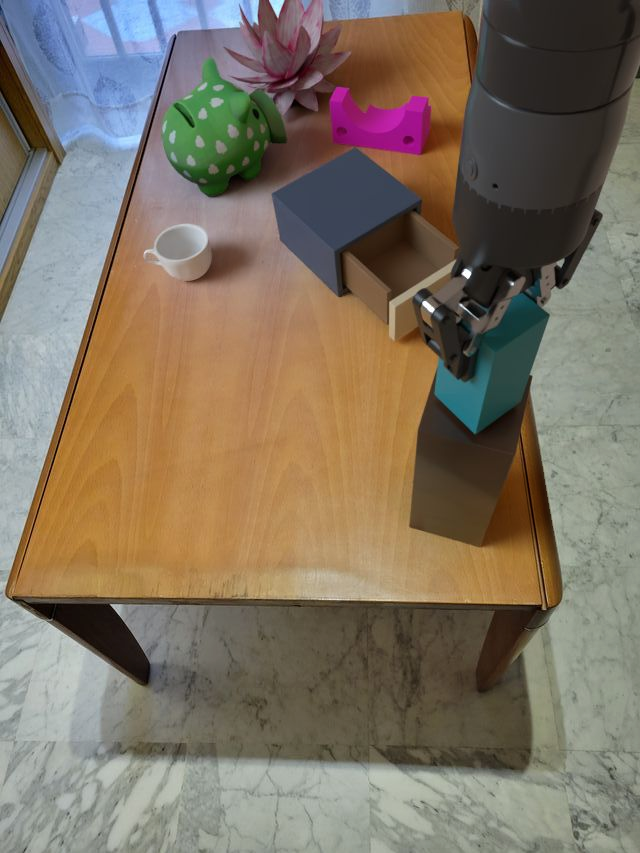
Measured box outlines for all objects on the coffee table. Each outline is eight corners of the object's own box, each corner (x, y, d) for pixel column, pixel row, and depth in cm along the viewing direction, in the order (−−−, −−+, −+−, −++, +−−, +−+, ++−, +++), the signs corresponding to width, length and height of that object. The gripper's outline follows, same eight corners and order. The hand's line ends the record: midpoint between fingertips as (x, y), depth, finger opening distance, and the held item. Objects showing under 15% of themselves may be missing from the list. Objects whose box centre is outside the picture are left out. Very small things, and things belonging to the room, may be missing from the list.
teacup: (218, 248, 96) (209, 220, 92) (215, 286, 92) (206, 259, 88) (153, 254, 97) (142, 227, 92) (148, 292, 93) (136, 265, 88)
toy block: (429, 131, 106) (432, 87, 99) (420, 154, 103) (422, 112, 96) (344, 119, 109) (341, 77, 103) (332, 142, 106) (329, 100, 100)
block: (520, 401, 52) (550, 314, 43) (475, 435, 51) (495, 352, 41) (478, 363, 54) (497, 272, 45) (433, 394, 53) (444, 307, 44)
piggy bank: (297, 172, 103) (285, 84, 91) (198, 219, 100) (171, 133, 87) (257, 129, 110) (240, 41, 97) (163, 171, 107) (132, 85, 94)
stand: (494, 484, 73) (533, 375, 54) (480, 547, 69) (515, 454, 50) (426, 466, 75) (440, 355, 56) (408, 527, 71) (417, 430, 52)
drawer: (494, 309, 85) (502, 272, 79) (415, 362, 81) (418, 328, 75) (408, 237, 93) (409, 199, 87) (333, 283, 89) (329, 246, 84)
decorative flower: (365, 116, 109) (362, 25, 96) (244, 144, 108) (225, 56, 95) (335, 50, 120) (329, -40, 107) (225, 75, 119) (205, -13, 106)
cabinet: (419, 247, 93) (422, 198, 85) (338, 297, 89) (334, 251, 82) (357, 195, 99) (355, 146, 92) (280, 240, 96) (271, 193, 88)
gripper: (480, 262, 29) (448, 440, 44) (689, 127, 33) (595, 334, 47) (378, 181, 33) (380, 371, 47) (577, 66, 36) (521, 277, 51)
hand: (488, 352), depth 47 cm, fingers closed on block, 5 cm apart
